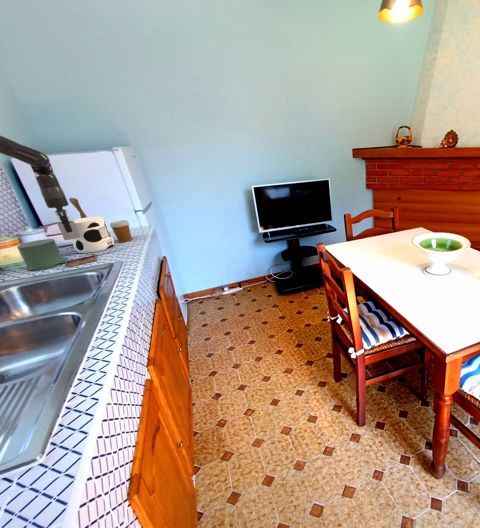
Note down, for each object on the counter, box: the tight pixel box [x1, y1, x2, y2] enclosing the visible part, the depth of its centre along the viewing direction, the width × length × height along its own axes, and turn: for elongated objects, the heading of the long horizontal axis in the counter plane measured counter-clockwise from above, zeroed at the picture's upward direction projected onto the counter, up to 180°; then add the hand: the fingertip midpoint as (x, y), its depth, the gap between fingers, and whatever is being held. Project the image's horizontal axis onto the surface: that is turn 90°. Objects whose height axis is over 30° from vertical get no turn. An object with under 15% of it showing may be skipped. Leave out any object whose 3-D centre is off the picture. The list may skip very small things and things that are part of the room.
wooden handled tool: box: [68, 197, 88, 219], centre depth 179 cm, size 7×19×28 cm, turn 44°
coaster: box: [66, 255, 98, 268], centre depth 152 cm, size 11×11×1 cm
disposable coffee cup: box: [109, 219, 133, 244], centre depth 182 cm, size 10×10×12 cm
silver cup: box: [56, 220, 80, 241], centre depth 146 cm, size 6×6×8 cm
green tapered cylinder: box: [16, 238, 66, 272], centre depth 146 cm, size 14×14×12 cm
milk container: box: [70, 216, 115, 255], centre depth 164 cm, size 17×17×18 cm
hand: (69, 231), depth 146 cm, fingers closed on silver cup, 6 cm apart
